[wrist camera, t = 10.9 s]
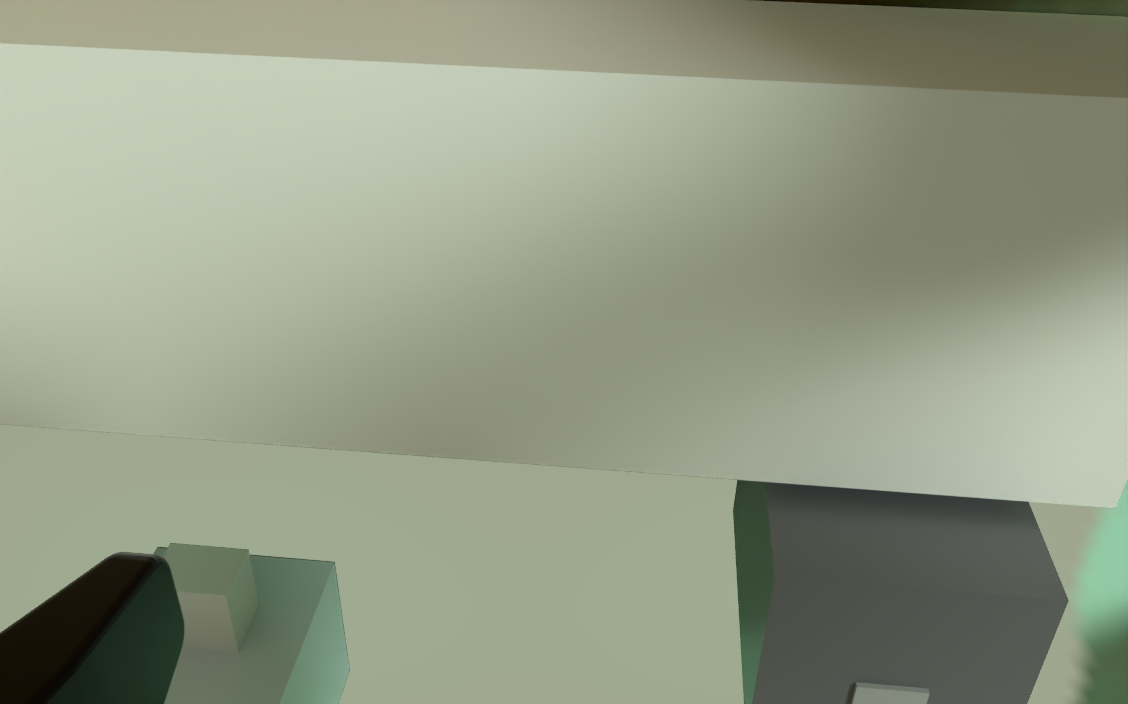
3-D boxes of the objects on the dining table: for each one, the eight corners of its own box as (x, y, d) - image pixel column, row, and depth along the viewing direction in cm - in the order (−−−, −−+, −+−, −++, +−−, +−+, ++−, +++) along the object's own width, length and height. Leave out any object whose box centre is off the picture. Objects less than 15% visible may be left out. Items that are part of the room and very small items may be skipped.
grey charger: (327, 507, 25) (235, 723, 20) (349, 670, 28) (275, 892, 23) (143, 491, 25) (6, 701, 20) (186, 655, 28) (78, 871, 23)
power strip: (1164, 18, 17) (1295, 116, 13) (1047, 373, 21) (1123, 524, 17) (-124, -38, 19) (-322, 37, 15) (-11, 302, 22) (-147, 428, 19)
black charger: (1000, 302, 20) (1105, 518, 15) (936, 525, 23) (1005, 765, 18) (764, 287, 21) (790, 494, 16) (733, 510, 24) (746, 741, 19)
